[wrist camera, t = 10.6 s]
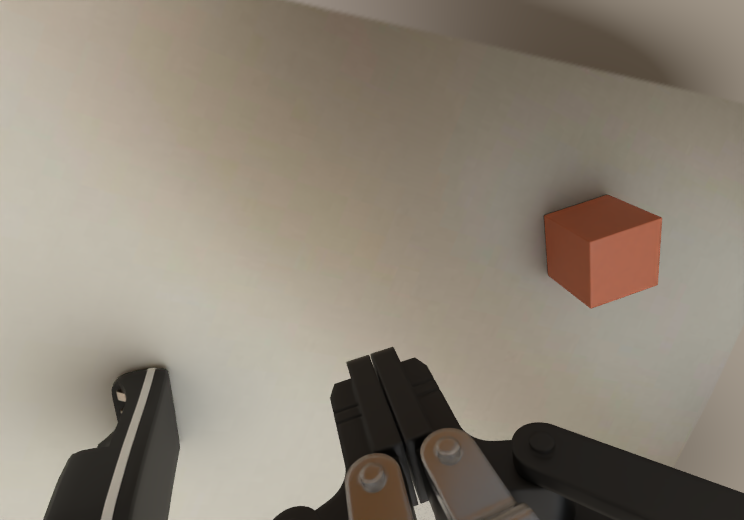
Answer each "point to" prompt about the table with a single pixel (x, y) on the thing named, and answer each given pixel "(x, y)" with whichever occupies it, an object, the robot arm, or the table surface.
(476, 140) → the table surface
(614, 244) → the block
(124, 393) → the battery charger
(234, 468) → the table surface
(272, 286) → the table surface
